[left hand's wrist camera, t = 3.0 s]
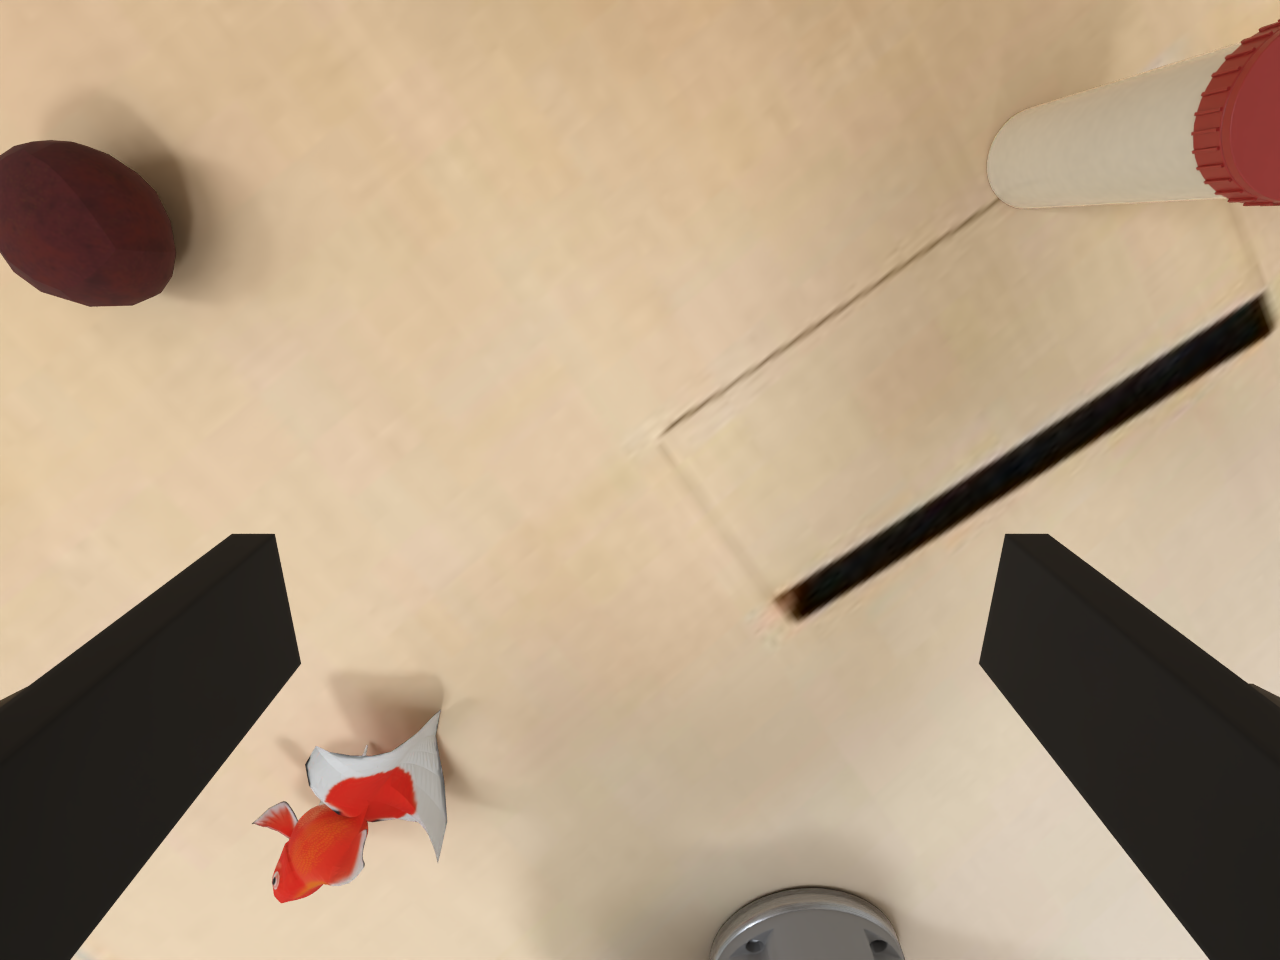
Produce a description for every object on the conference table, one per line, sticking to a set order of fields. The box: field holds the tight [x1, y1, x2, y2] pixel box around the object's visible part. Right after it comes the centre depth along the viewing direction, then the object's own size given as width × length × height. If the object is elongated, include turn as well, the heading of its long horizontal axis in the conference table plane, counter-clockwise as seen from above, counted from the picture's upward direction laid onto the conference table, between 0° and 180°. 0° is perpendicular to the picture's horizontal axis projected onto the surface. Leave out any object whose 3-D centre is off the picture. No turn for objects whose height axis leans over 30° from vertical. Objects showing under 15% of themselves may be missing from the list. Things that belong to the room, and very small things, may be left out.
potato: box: [0, 140, 176, 307], centre depth 33 cm, size 7×8×7 cm
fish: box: [252, 710, 447, 903], centre depth 45 cm, size 11×16×10 cm
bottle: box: [987, 42, 1241, 209], centre depth 28 cm, size 5×5×16 cm
